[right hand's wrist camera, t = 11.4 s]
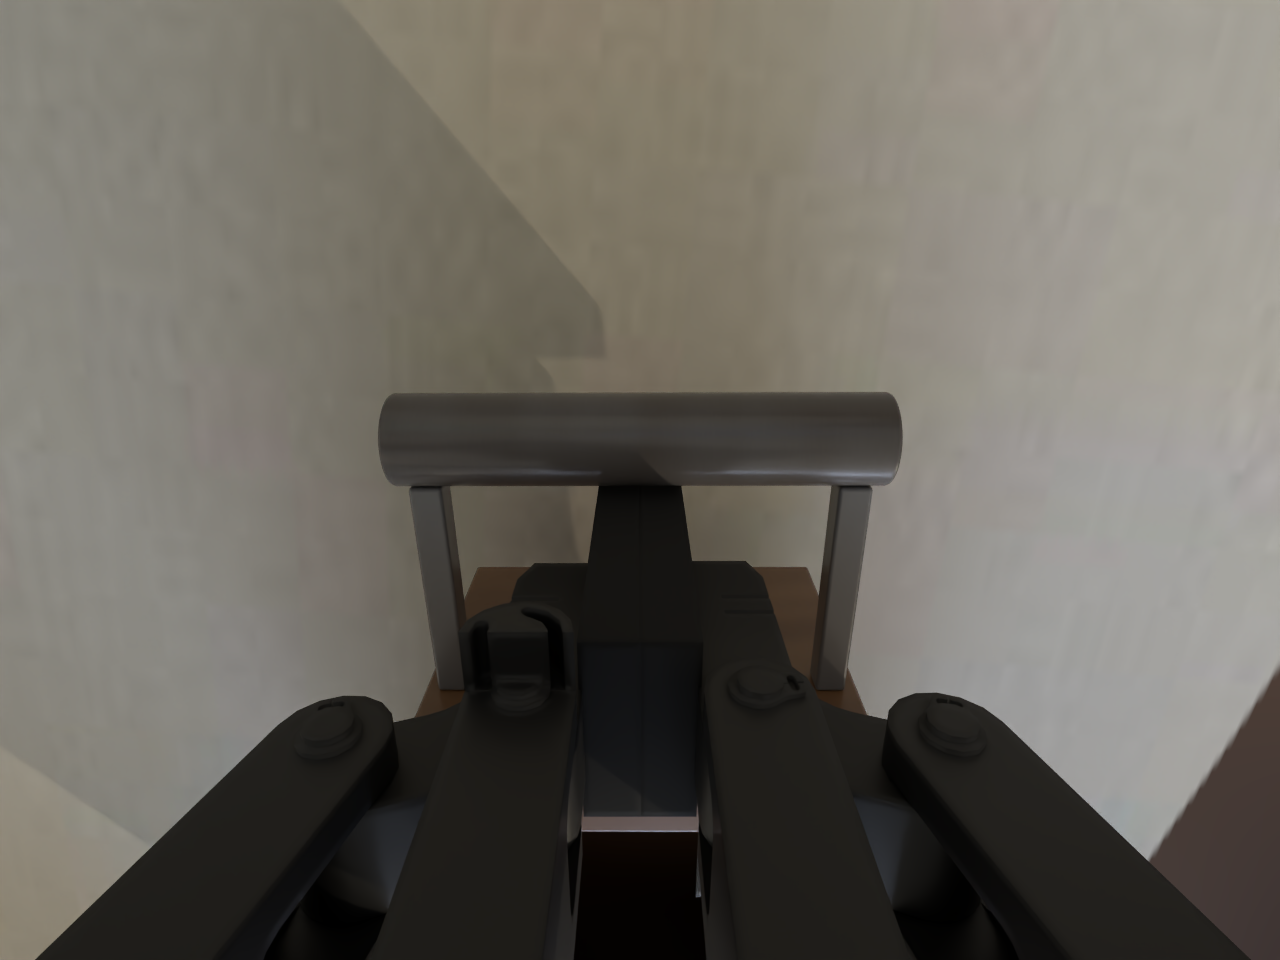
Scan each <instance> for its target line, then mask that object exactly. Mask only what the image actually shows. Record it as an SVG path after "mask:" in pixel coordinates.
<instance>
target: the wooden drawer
mask: <svg viewBox="0 0 1280 960" xmlns="http://www.w3.org/2000/svg"><path fill="white" fill-rule="evenodd" d="M902 438H903V437H902V421H901V415H900V411H899V407H898V404H897V402H896V400H895V398H894V397H893V396H892V395H891V394H890V393H887V392H752V393H395V394H392V395H390V396H389V397H388V398H387V399H386V401H385V403H384V405H383V408H382V411H381V415H380V420H379V430H378V445H379V454H380V460H381V464H382V468H383V471H384V474H385V476H386V478H387V479H388V481H389V482H390V483H391V484H393V485H395V486H411V488H410V489H409V495H410V501H411V508H412V514H413V521H414V528H415V534H416V541H417V548H418V554H419V561H420V567H421V574H422V581H423V587H424V594H425V600H426V607H427V614H428V620H429V627H430V633H431V640H432V647H433V653H434V660H435V666H436V668H435V671H434V673H433V675H432V678H431V680H430V683H429V685H428V687H427V690H426V692H425V694H424V697H423V699H422V702H421V704H420V706H419V709H418V711H417V713H416V716H415V718H416V717H421V716H425V715H429V714H432V713H435V712H439V711H442V710H445V709H447V708H449V707H451V706H453V705H455V704H458V703H460V702H461V700H462V697H463V694H464V692H465V690H464V681H463V672H462V664H461V655H460V646H459V637H458V632H459V630H460V629H461V628H462V626H463V625H464V624H465V622H466V621H467V620H468V619H470V618H471V617H473V616H475V615H476V614H478V613H479V612H481V611H483V610H485V609H488V608H491V607H494V606H497V605H501V604H505V603H510V601H511V600H512V594H513V591H514V588H515V585H516V582H517V579H518V578H519V577H520V576H521V575H522V574H524V573H525V572H526V571H527V570H528V569H529V568H530V567H479V568H478V569H477V571H476V574H475V576H474V578H473V581H472V583H471V585H470V588H469V590H468V593H467V595H466V597H465V600H464V595H463V587H462V579H461V571H460V563H459V555H458V547H457V539H456V531H455V523H454V515H453V507H452V499H451V491H450V486H832V487H831V495H830V504H829V513H828V521H827V530H826V538H825V547H824V556H823V564H822V573H821V582H820V590H819V596H818V593H817V591H816V588H815V586H814V583H813V581H812V578H811V576H810V574H809V571H808V569H807V568H806V567H753V568H754V569H755V570H756V571H757V572H758V573H759V574H760V575H762V576H763V579H764V582H765V585H766V588H767V591H768V594H769V598H770V600H771V603H772V606H773V609H774V614H775V616H776V619H777V622H778V625H779V628H780V631H781V634H782V637H783V640H784V643H785V646H786V649H787V653H788V656H789V659H790V662H791V665H792V667H793V668H795V669H796V670H798V671H799V672H800V673H802V674H803V675H805V676H806V677H807V678H808V680H809V681H810V683H811V684H812V686H813V687H814V689H815V691H816V693H817V696H818V698H819V699H820V700H823V701H825V702H827V703H829V704H831V705H833V706H835V707H838V708H841V709H845V710H848V711H851V712H855V713H859V714H864V715H867V714H866V711H865V709H864V706H863V704H862V701H861V699H860V697H859V694H858V692H857V689H856V687H855V684H854V682H853V679H852V677H851V674H850V672H849V670H848V660H849V653H850V646H851V639H852V632H853V625H854V618H855V611H856V604H857V597H858V589H859V582H860V575H861V568H862V561H863V554H864V547H865V540H866V533H867V526H868V519H869V512H870V505H871V498H872V488H871V486H870V485H887V484H889V483H890V482H892V480H893V479H894V477H895V475H896V473H897V470H898V467H899V463H900V458H901V452H902ZM581 826H582V850H583V855H582V867H581V878H580V890H579V902H578V914H577V926H576V937H575V949H574V960H706V948H705V936H704V925H703V913H702V901H701V897H696V874H697V850H698V826H699V818H698V807H697V817H584V815H583V811H582V822H581Z"/></svg>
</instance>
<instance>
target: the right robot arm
mask: <svg viewBox="0 0 1280 960" xmlns="http://www.w3.org/2000/svg"><path fill="white" fill-rule="evenodd" d="M458 637H459V646H460V655H461V664H462V672H463V681H464V690H465V692H464V694H463V697H462V700H461V702H460V703H458V704H455V705H453V706H451V707H449V708H447V709H445V710H442V711H439V712H435V713H432V714H429V715H425V716H421V717H416V718H412V719H407V720H403V721H398V722H394V723H393V718H392V713H391V712H390V711H389V710H388V709H387V708H386V706H385V705H384V704H383V703H382V702H379V701H377V700H374V699H371V698H368V697H366V696H341V697H336V698H331V699H326V700H322V701H319V702H316V703H314V704H312V705H310V706H307V707H305V708H303V709H300V710H298V711H296V712H295V713H294V714H292V715H291V716H290V717H288V718H287V719H286V720H284V721H283V722H282V723H280V724H279V725H278V726H277V727H276V728H275V729H273V730H272V731H271V732H270V733H269V734H268V735H267V736H266V737H265V738H264V739H263V740H262V741H261V742H260V743H259V744H258V745H257V746H256V747H255V748H254V749H253V750H252V751H251V752H250V753H249V754H248V755H247V756H246V757H245V758H243V759H242V760H241V761H240V762H239V763H238V764H237V765H236V766H235V767H234V768H233V769H232V770H231V771H230V772H229V773H228V774H227V775H226V776H225V777H224V778H223V779H222V780H221V781H220V782H219V783H218V784H217V785H216V786H214V787H213V788H212V789H211V790H210V791H209V792H208V793H207V794H206V795H205V796H204V797H203V798H202V799H201V800H200V801H199V802H198V803H197V804H196V805H195V806H194V807H193V808H192V809H191V810H190V811H189V812H188V813H187V814H186V815H184V816H183V817H182V818H181V819H180V820H179V821H178V822H177V823H176V824H175V825H174V826H173V827H172V828H171V829H170V830H169V831H168V832H167V833H166V834H165V835H164V836H163V837H162V838H161V839H160V840H159V841H158V842H157V843H155V844H154V845H153V846H152V847H151V848H150V849H149V850H148V851H147V852H146V853H145V854H144V855H143V856H142V857H141V858H140V859H139V860H138V861H137V862H136V863H135V864H134V865H133V866H132V867H131V868H130V869H129V870H128V871H127V872H125V873H124V874H123V875H122V876H121V877H120V878H119V879H118V880H117V881H116V882H115V883H114V884H113V885H112V886H111V887H110V888H109V889H108V890H107V891H106V892H105V893H104V894H103V895H102V896H101V897H100V898H99V899H98V900H96V901H95V902H94V903H93V904H92V905H91V906H90V907H89V908H88V909H87V910H86V911H85V912H84V913H83V914H82V915H81V916H80V917H79V918H78V919H77V920H76V921H75V922H74V923H73V924H72V925H71V926H70V927H69V928H67V929H66V930H65V931H64V932H63V933H62V934H61V935H60V936H59V937H58V938H57V939H56V940H55V941H54V942H53V943H52V944H51V945H50V946H49V947H48V948H47V949H46V950H45V951H44V952H43V953H42V954H41V955H40V956H39V957H37V958H36V959H35V960H574V949H575V937H576V926H577V914H578V902H579V890H580V878H581V867H582V855H583V850H582V826H581V822H582V811H583V815H584V817H697V807H698V818H699V826H698V850H697V874H696V897H701V901H702V913H703V925H704V936H705V948H706V960H1251V959H1249V958H1248V957H1247V956H1246V955H1245V954H1244V953H1243V952H1242V951H1241V950H1240V949H1239V948H1238V947H1237V946H1236V945H1235V944H1234V943H1233V942H1232V941H1231V940H1230V939H1229V938H1228V937H1227V936H1225V935H1224V934H1223V933H1222V932H1221V931H1220V930H1219V929H1218V928H1217V927H1216V926H1215V925H1214V924H1213V923H1212V922H1211V921H1210V920H1209V919H1208V918H1207V917H1206V916H1205V915H1204V914H1203V913H1201V912H1200V911H1199V910H1198V909H1197V908H1196V907H1195V906H1194V905H1193V904H1192V903H1191V902H1190V901H1189V900H1188V899H1187V898H1186V897H1185V896H1184V895H1183V894H1182V893H1181V892H1180V891H1179V890H1178V889H1176V888H1175V887H1174V886H1173V885H1172V884H1171V883H1170V882H1169V881H1168V880H1167V879H1166V878H1165V877H1164V876H1163V875H1162V874H1161V873H1160V872H1159V871H1158V870H1157V869H1156V868H1155V867H1153V866H1152V865H1151V864H1150V863H1149V862H1148V861H1147V860H1146V859H1145V858H1144V857H1143V856H1142V855H1141V854H1140V853H1139V852H1138V851H1137V850H1136V849H1135V848H1134V847H1133V846H1132V845H1131V844H1130V843H1129V842H1127V841H1126V840H1125V839H1124V838H1123V837H1122V836H1121V835H1120V834H1119V833H1118V832H1117V831H1116V830H1115V829H1114V828H1113V827H1112V826H1111V825H1110V824H1109V823H1108V822H1107V821H1106V820H1105V819H1103V818H1102V817H1101V816H1100V815H1099V814H1098V813H1097V812H1096V811H1095V810H1094V809H1093V808H1092V807H1091V806H1090V805H1089V804H1088V803H1087V802H1086V801H1085V800H1084V799H1083V798H1082V797H1081V796H1080V795H1078V794H1077V793H1076V792H1075V791H1074V790H1073V789H1072V788H1071V787H1070V786H1069V785H1068V784H1067V783H1066V782H1065V781H1064V780H1063V779H1062V778H1061V777H1060V776H1059V775H1058V774H1057V773H1056V772H1054V771H1053V770H1052V769H1051V768H1050V767H1049V766H1048V765H1047V764H1046V763H1045V762H1044V761H1043V760H1042V759H1041V758H1040V757H1039V756H1038V755H1037V754H1036V753H1035V752H1034V751H1033V750H1032V749H1030V748H1029V747H1028V746H1027V745H1026V744H1025V743H1024V742H1023V741H1022V740H1021V739H1020V738H1019V737H1018V736H1017V735H1016V734H1015V733H1014V732H1013V731H1012V730H1011V729H1010V728H1009V727H1008V726H1007V725H1005V724H1004V723H1003V722H1002V721H1001V720H999V719H998V718H997V717H995V716H994V715H993V714H991V713H990V712H989V711H987V710H986V709H984V708H983V707H981V706H978V705H976V704H974V703H971V702H969V701H967V700H964V699H962V698H959V697H955V696H950V695H945V694H940V693H915V694H912V695H909V696H907V697H904V698H901V699H898V701H897V702H896V703H895V704H894V705H893V706H892V708H891V709H890V710H889V713H888V719H887V720H886V719H882V718H877V717H873V716H868V715H864V714H859V713H855V712H851V711H848V710H845V709H841V708H838V707H835V706H833V705H831V704H829V703H827V702H825V701H823V700H820V699H819V698H818V696H817V693H816V691H815V689H814V687H813V686H812V684H811V683H810V681H809V680H808V678H807V677H806V676H805V675H803V674H802V673H800V672H799V671H798V670H796V669H795V668H793V667H792V665H791V662H790V659H789V656H788V653H787V649H786V646H785V643H784V640H783V637H782V634H781V631H780V628H779V625H778V622H777V619H776V616H775V614H774V609H773V606H772V603H771V600H770V598H769V594H768V591H767V588H766V585H765V582H764V579H763V576H762V575H760V574H759V573H758V572H757V571H756V570H755V569H754V568H753V567H751V566H750V565H749V564H748V563H747V562H746V561H692V558H691V551H690V544H689V537H688V530H687V523H686V516H685V509H684V502H683V495H682V488H681V486H599V489H598V496H597V503H596V510H595V517H594V524H593V531H592V538H591V545H590V552H589V559H588V563H535V564H534V565H532V566H531V567H530V568H529V569H528V570H527V571H526V572H525V573H524V574H522V575H521V576H520V577H519V578H518V579H517V582H516V585H515V588H514V591H513V594H512V600H511V601H510V603H505V604H501V605H497V606H494V607H491V608H488V609H485V610H483V611H481V612H479V613H478V614H476V615H475V616H473V617H471V618H470V619H468V620H467V621H466V622H465V624H464V625H463V626H462V628H461V629H460V630H459V632H458Z"/></svg>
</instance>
